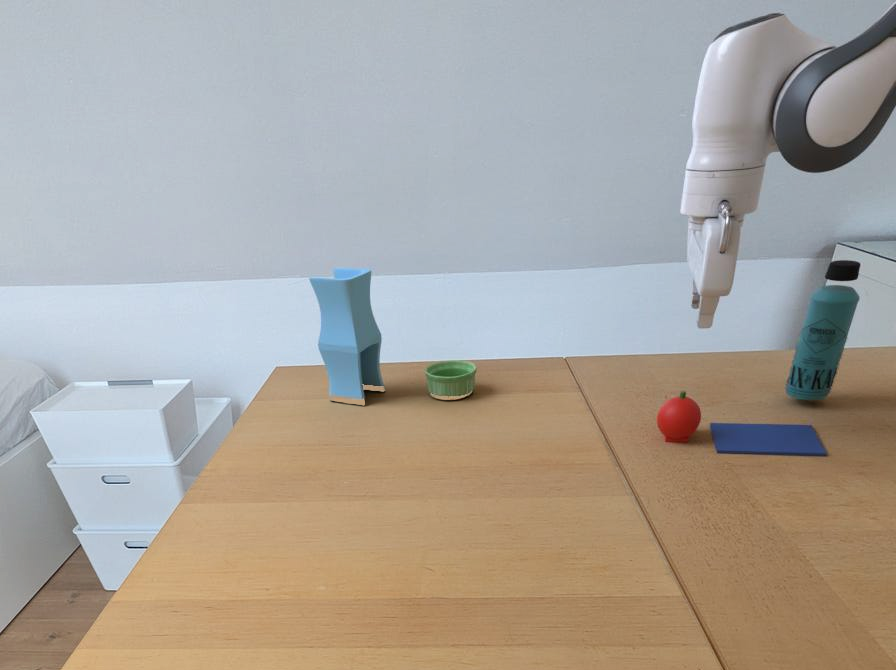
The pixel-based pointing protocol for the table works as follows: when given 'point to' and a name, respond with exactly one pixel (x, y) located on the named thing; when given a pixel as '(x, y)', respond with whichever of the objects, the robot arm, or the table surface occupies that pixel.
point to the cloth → (766, 439)
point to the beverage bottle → (824, 334)
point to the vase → (348, 332)
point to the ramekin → (451, 378)
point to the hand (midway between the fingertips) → (700, 316)
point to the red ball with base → (678, 418)
